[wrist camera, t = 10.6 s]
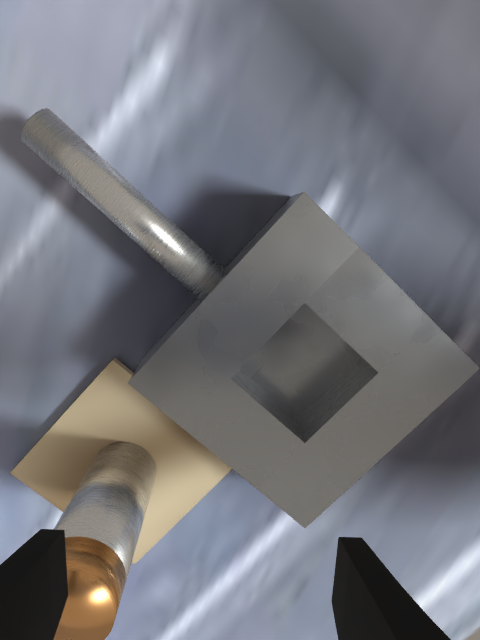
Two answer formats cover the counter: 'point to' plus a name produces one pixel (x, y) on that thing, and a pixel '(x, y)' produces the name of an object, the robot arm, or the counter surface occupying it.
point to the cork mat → (122, 426)
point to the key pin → (103, 537)
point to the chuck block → (276, 340)
